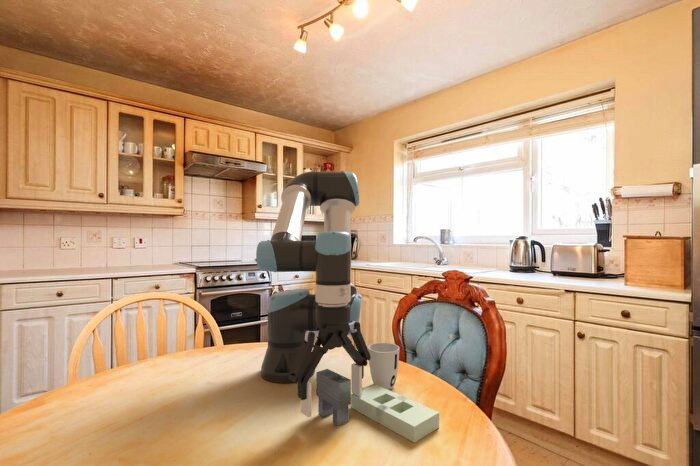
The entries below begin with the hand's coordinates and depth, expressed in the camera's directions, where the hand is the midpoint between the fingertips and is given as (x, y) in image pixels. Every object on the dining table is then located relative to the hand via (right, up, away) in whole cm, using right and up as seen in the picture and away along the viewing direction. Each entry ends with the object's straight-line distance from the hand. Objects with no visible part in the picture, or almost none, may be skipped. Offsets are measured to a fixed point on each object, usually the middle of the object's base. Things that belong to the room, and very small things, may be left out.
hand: (332, 403), depth 74 cm
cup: (+12, -4, +16) cm, 21 cm away
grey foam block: (0, -3, 0) cm, 3 cm away
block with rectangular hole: (+13, -3, +1) cm, 13 cm away
